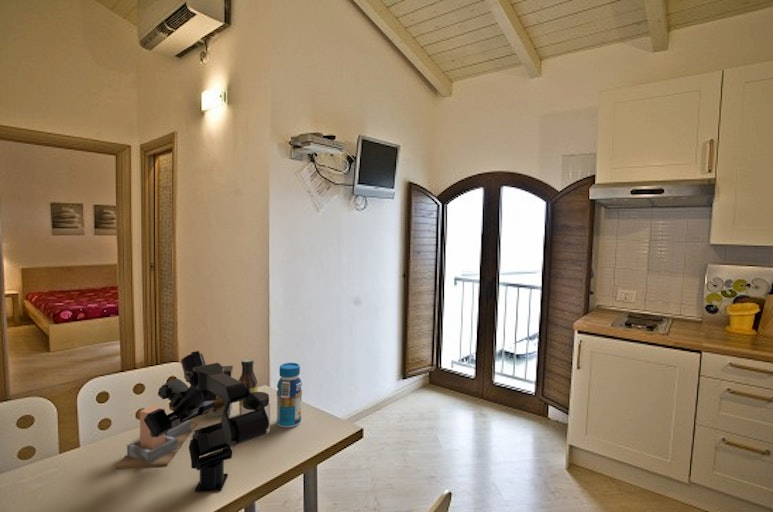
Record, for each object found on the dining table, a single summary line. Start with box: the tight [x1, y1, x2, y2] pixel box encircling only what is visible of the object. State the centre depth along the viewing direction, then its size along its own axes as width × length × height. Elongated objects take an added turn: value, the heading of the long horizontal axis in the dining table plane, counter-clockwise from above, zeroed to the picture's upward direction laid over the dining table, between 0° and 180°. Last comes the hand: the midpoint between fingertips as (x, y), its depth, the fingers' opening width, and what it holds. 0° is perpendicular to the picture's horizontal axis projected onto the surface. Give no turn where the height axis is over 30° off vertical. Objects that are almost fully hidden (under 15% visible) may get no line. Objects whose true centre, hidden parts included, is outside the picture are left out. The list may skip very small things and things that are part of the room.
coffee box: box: [202, 365, 234, 418], centre depth 140 cm, size 9×6×16 cm
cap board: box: [115, 420, 198, 469], centre depth 119 cm, size 24×13×4 cm, turn 8°
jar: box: [241, 391, 271, 439], centre depth 127 cm, size 9×8×12 cm
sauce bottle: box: [238, 358, 258, 415], centre depth 139 cm, size 6×6×20 cm
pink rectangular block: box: [139, 405, 166, 450], centre depth 113 cm, size 5×4×12 cm
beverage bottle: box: [276, 362, 303, 429], centre depth 134 cm, size 8×8×20 cm
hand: (166, 428), depth 111 cm, fingers open, 9 cm apart
